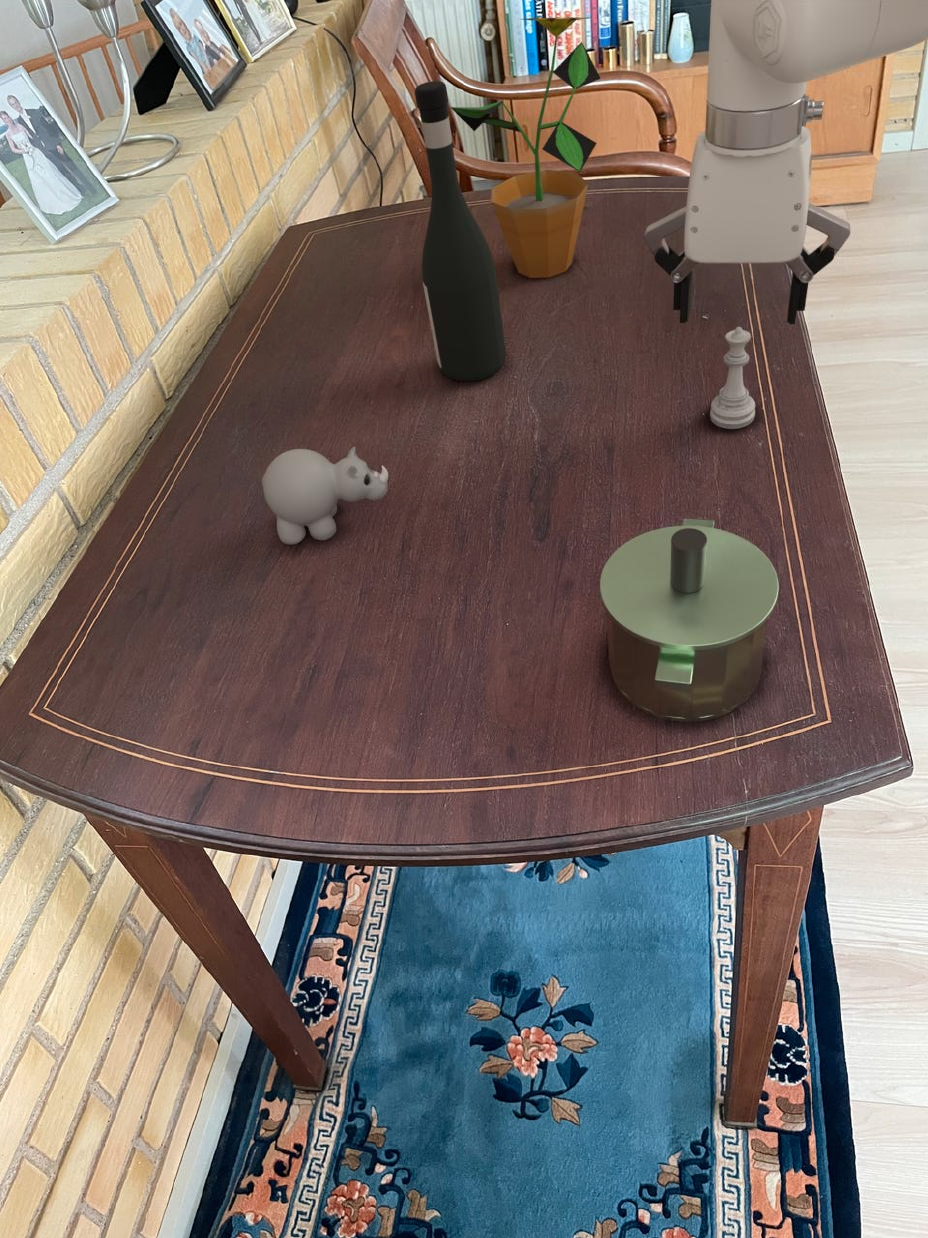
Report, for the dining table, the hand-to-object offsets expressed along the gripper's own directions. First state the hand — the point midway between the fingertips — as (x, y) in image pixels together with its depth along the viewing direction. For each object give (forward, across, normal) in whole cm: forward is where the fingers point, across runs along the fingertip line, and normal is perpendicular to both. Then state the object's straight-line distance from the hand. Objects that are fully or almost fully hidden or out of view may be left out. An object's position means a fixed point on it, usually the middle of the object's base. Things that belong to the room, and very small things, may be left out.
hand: (737, 316), depth 86 cm
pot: (+11, +1, +34) cm, 36 cm away
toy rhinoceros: (+11, +36, +21) cm, 43 cm away
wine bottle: (+12, +30, -8) cm, 33 cm away
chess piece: (+11, 0, 0) cm, 11 cm away
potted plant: (+12, +27, -34) cm, 45 cm away
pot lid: (+2, +1, +34) cm, 34 cm away
